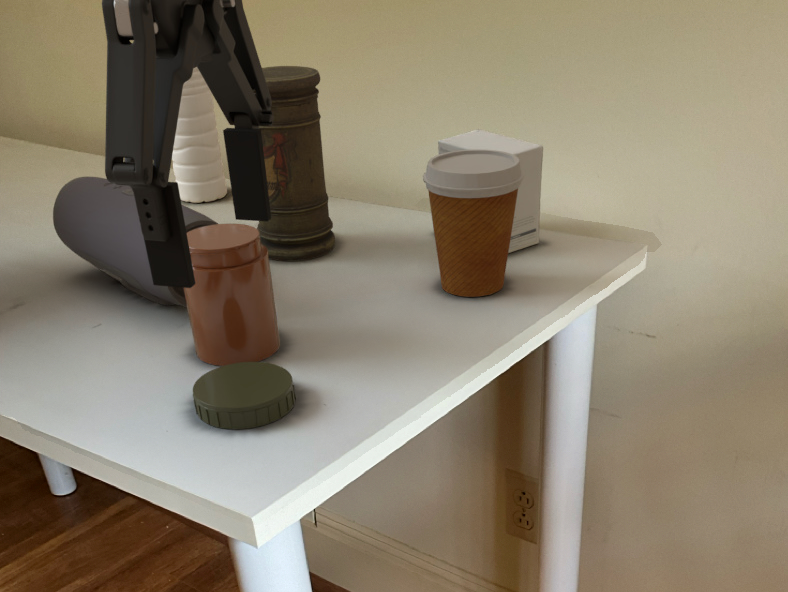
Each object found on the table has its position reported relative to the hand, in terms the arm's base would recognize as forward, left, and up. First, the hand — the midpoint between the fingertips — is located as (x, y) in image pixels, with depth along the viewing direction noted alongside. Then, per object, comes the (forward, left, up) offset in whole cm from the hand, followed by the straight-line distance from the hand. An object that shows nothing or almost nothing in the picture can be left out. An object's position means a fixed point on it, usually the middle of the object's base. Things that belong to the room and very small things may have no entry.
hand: (217, 249), depth 64 cm
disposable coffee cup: (+13, +28, -13) cm, 33 cm away
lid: (0, 0, -11) cm, 11 cm away
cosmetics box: (+12, +42, -13) cm, 45 cm away
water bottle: (-28, +54, -13) cm, 62 cm away
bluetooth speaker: (-19, +21, -13) cm, 32 cm away
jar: (-5, +10, -13) cm, 17 cm away
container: (-9, +36, -13) cm, 39 cm away
